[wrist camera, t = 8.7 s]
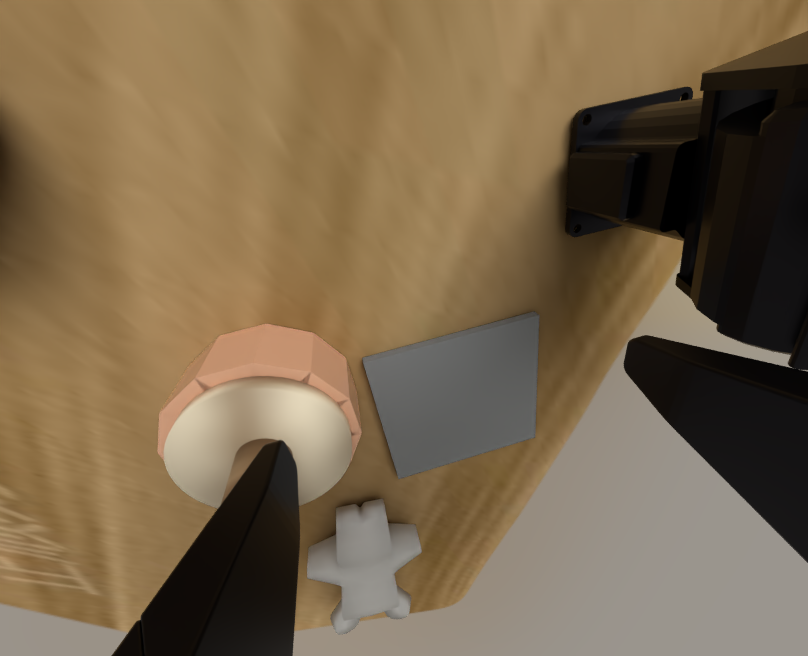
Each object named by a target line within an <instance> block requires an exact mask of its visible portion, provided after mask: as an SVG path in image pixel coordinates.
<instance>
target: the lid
mask: <svg viewBox="0 0 808 656" xmlns="http://www.w3.org/2000/svg"><path fill="white" fill-rule="evenodd" d="M277 440H283V441H284V442H285V443H286V445H287V447H288V449H289V451H290V453H291V454H292V456H293V458H294V460H295V462H296V466H297V474H298V497H299V506H300V505H303V504H306V503H308V502H310V501H312V500H314V499H316V498H318V497H320V496H321V495H323V494H324V493H326V492H327V491H328V490H330V489H331V488H332V487H333V486H334V485H335V484H336V483H337V482H338V481H339V480H340V479H341V478H342V476H343V475H344V473H345V472H346V470H347V468H348V466H349V464H350V460H351V457H352V439H351V429H350V424H349V421H348V418H347V416H346V414H345V412H344V411H343V409H342V408H341V407H340V405H339V404H338V403H337V402H336V401H335V400H334V399H333V398H331V397H330V396H329V395H328V394H326V393H325V392H323V391H321V390H320V389H318V388H316V387H314V386H312V385H309V384H307V383H304V382H301V381H298V380H294V379H289V378H284V377H275V376H252V377H244V378H239V379H234V380H230V381H227V382H224V383H221V384H218V385H216V386H213V387H211V388H209V389H207V390H205V391H204V392H202V393H201V394H199V395H197V396H196V397H195V398H194V399H193V400H191V401H190V402H189V403H188V404H187V405H186V406H185V407H184V409H183V410H182V411H181V413H180V414H179V416H178V418H177V419H176V421H175V423H174V425H173V427H172V428H171V430H170V432H169V434H168V436H167V439H166V442H165V446H164V462H165V465H166V469H167V471H168V473H169V475H170V477H171V478H172V480H173V481H174V482H175V484H176V485H177V486H178V487H179V488H180V489H181V490H183V491H184V492H185V493H186V494H188V495H189V496H191V497H192V498H194V499H196V500H198V501H199V502H202V503H204V504H206V505H209V506H212V507H215V508H219V506H220V505H221V504H222V502H223V501H224V499H225V498H226V497H227V495H228V494H229V493H230V491H231V490H232V488H233V487H234V486H235V484H236V483H237V481H238V480H239V479H240V477H241V476H242V474H243V473H244V472H245V470H246V469H247V468H248V466H249V465H250V463H251V462H252V461H253V459H254V458H255V456H256V455H257V454H258V452H259V451H260V450H261V448H262V447H263V446H264V445H265V444H267V443H270V442H274V441H277Z"/></svg>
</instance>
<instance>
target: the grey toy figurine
mask: <svg viewBox="0 0 808 656" xmlns="http://www.w3.org/2000/svg"><path fill="white" fill-rule="evenodd" d="M421 552H422V551H421V545H420V541H419V537H418V533H417V529H416V525H415V524H396V523H388V521H387V515H386V509H385V504H384V502H383V499H377V500H372V501H367V502H364V503H363V504H362V506H361V507H358V506H357V505H356V504H352V505H347V506H342V507H337V508H336V535H334V536H331V537H329V538H327V539H325V540H323V541H321V542H318V543H316V544H314V545H312V546H310V547H309V549H308V564H307V578H308V579H312V580H317V581H322V582H327V583H331V584H336V585H339V586H342V599H341V601H340V602H339V604H338V605H337V607H336V608H335V609H334V611H333V612H332V614H331V618H330V619H331V622H332V624H333V627H334V629H335V632H336V633H337V634H345V633H348V632H350V631H351V630H353V629H354V628H355V627H356V626H357V624H358V623H359V620H360V618H362V617H367V616H372V615H375V614H378V613H381V612H385V613H386V615H387V616H388V617H390V618H392V619H402V618H405V617H407V615H408V614H409V611H410V604H411V596H410V594H408V593H407V592H406V591H404V590H403V589H401V588H400V587H399V586H397V585H396V580H395V574H394V573H395V572H396V571H397V570H399V569H400V568H401V567H403V566H404V565H405V564H407V563H408V562H409V561H411V560H412V559H413V558H415V557H416V556H417V555H419V554H420V553H421Z"/></svg>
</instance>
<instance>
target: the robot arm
mask: <svg viewBox="0 0 808 656" xmlns="http://www.w3.org/2000/svg"><path fill="white" fill-rule="evenodd" d="M700 91H704V92H703V98H699V99H692V97H693V91H692V89H691V88H690V87H682V88H677V89H672V90H668V91H663V92H658V93H654V94H649V95H645V96H640V97H635V98H631V99H626V100H621V101H617V102H612V103H607V104H603V105H598V106H594V107H589V108H584V109H581V110H579V111H578V112H577V113H576V115H575V117H574V119H573V128H572V142H571V156H570V160H569V173H568V187H567V202H566V205H567V213H566V227H565V230H566V233H567V234H568V235H570V236H572V237H578V236H582V235H586V234H590V233H594V232H598V231H602V230H606V229H610V228H614V227H618V226H622V225H624V226H628V227H632V228H636V229H639V230H643V231H647V232H651V233H655V234H658V235H662V236H666V237H670V238H674V239H677V240H681V241H684V244H683V251H682V259H681V266H680V273H678V274H677V277H676V286H677V287H678V288H679V289H680V290H682V291H683V292H684V293H685V294H686V295H687V296H689V297H690V298H691V299H692V301H693V303H694V305H695V307H696V309H697V310H699V311H700V312H701V313H703V314H704V315H705V316H707V317H708V318H709V319H711V320H712V321H713V322H715V323H717V331H718V332H720V333H721V334H723V335H725V336H727V337H730V338H732V339H734V340H737V341H740V342H742V343H744V344H747V345H751V346H755V347H758V348H762V349H765V350H769V351H773V352H778V353H783V354H789V355H791V356H790V359H789V361H788V365H789V366H790V367H792V368H789V367H785V366H780V365H775V364H772V363H767V362H763V361H759V360H754V359H750V358H745V357H741V356H737V355H732V354H728V353H723V352H718V351H715V350H710V349H705V348H701V347H697V346H692V345H688V344H684V343H679V342H675V341H670V340H666V339H662V338H657V337H653V336H648V335H645V336H641V337H637V338H634V339H631V340H630V341H629V342H628V345H627V350H626V355H625V360H624V369H625V371H626V373H627V374H628V376H629V377H630V378H631V379H632V380H633V382H634V383H635V384H636V385H637V386H638V388H639V389H640V390H641V391H642V392H643V394H644V395H645V396H646V397H647V399H648V400H649V401H650V402H651V403H652V405H653V406H654V407H655V408H656V409H657V410H658V412H659V413H660V414H661V415H662V416H663V418H664V419H665V420H666V421H667V422H668V423H669V424H670V425H671V426H672V427H673V428H674V429H675V430H676V431H677V432H678V433H679V434H680V435H681V436H682V437H683V438H684V439H685V440H686V441H687V442H688V443H689V444H690V445H691V446H692V447H693V448H694V449H695V450H696V451H697V452H698V453H699V454H700V455H701V456H702V457H703V458H704V459H705V460H706V461H707V462H708V463H709V464H710V465H711V466H712V467H713V468H714V469H715V470H716V471H717V472H718V473H719V474H720V475H721V476H722V477H723V478H724V479H725V480H726V481H727V482H728V483H729V484H730V485H731V486H732V487H733V488H734V489H735V490H736V491H737V492H738V493H739V494H740V495H741V496H742V497H743V498H744V499H745V500H746V501H747V502H748V503H749V504H750V505H751V506H752V508H754V510H755V511H756V512H758V513H759V515H761V517H762V518H763V519H765V521H766V522H767V523H768V524H769V525H771V527H772V528H773V529H775V531H776V532H777V533H779V535H780V536H781V537H782V538H784V540H785V541H786V542H787V543H788V544H790V546H791V547H793V549H794V550H796V552H798V554H799V555H800V556H801V557H802V558H803V559H804V560H805V561H806V562H807V563H808V372H807V371H802V370H808V31H807V32H804V33H802V34H799V35H797V36H794V37H792V38H789V39H787V40H784V41H782V42H779V43H776V44H774V45H771V46H769V47H766V48H764V49H761V50H759V51H756V52H754V53H751V54H749V55H746V56H744V57H741V58H739V59H736V60H733V61H731V62H728V63H726V64H723V65H721V66H718V67H716V68H713V69H711V70H708V71H706V72H703V73H702V80H701V88H700ZM680 97H681V101H680ZM584 116H586V122H585V124H584V125H583V122H582V120H583V117H584ZM576 225H577V228H576V229H575V230H573V229H574V227H575V226H576ZM794 368H795V369H794ZM798 369H800V370H798ZM299 548H300V519H299V497H298V474H297V466H296V462H295V460H294V458H293V456H292V454H291V453H290V451H289V449H288V447H287V445H286V443H285V442H284V441H283V440H277V441H274V442H270V443H267V444H265V445H264V446H263V447H262V448H261V450H260V451H259V452H258V454H257V455H256V456H255V458H254V459H253V461H252V462H251V463H250V465H249V466H248V468H247V469H246V470H245V472H244V473H243V474H242V476H241V477H240V479H239V480H238V481H237V483H236V484H235V486H234V487H233V488H232V490H231V491H230V493H229V494H228V495H227V497H226V498H225V499H224V501H223V502H222V504H221V505H220V506H219V508H218V509H217V511H216V512H215V513H214V515H213V516H212V518H211V519H210V520H209V522H208V523H207V524H206V526H205V527H204V529H203V530H202V531H201V533H200V534H199V536H198V537H197V538H196V540H195V541H194V542H193V544H192V545H191V547H190V548H189V549H188V551H187V552H186V554H185V555H184V556H183V558H182V559H181V561H180V562H179V563H178V565H177V566H176V567H175V569H174V570H173V572H172V573H171V574H170V576H169V577H168V579H167V580H166V581H165V583H164V584H163V585H162V587H161V588H160V590H159V591H158V592H157V594H156V595H155V597H154V598H153V599H152V601H151V602H150V604H149V605H148V606H147V608H146V609H145V610H144V612H143V613H142V615H141V620H138V621H137V622H136V623H135V624H134V625H133V627H132V628H131V630H130V631H129V632H128V634H127V635H126V637H125V638H124V640H123V641H122V642H121V644H120V645H119V646H118V648H117V649H116V651H115V652H114V653H113V655H112V656H292V655H293V640H294V625H295V610H296V594H297V579H298V563H299Z"/></svg>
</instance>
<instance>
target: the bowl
mask: <svg viewBox="0 0 808 656" xmlns="http://www.w3.org/2000/svg"><path fill="white" fill-rule="evenodd" d="M252 376H275V377H284V378H289V379H294V380H298V381H301V382H304V383H307V384H309V385H312V386H314V387H316V388H318V389H320V390H321V391H323V392H325V393H326V394H328V395H329V396H330V397H331V398H333V399H334V400H335V401H336V402H337V403H338V404H339V405H340V407H341V408H342V409H343V411H344V412H345V414H346V416H347V418H348V421H349V424H350V429H351V439H352V457H351V460H352V458H353V455H354V452H355V450H356V447H357V444H358V442H359V439H360V436H361V434H362V430H361V422H360V414H359V406H358V398H357V390H356V387H355V384H354V381H353V378H352V375H351V372H350V369H349V366H348V363H347V360H346V357H344V356H343V355H342V354H340V353H339V352H338V351H336V350H335V349H334V348H333V347H331V346H330V345H329V344H327V343H326V342H325V341H324V340H322V339H321V338H320V337H318V336H317V335H316V334H315V333H312V332H307V331H302V330H297V329H291V328H286V327H281V326H276V325H271V324H263V325H259V326H255V327H251V328H247V329H243V330H239V331H236V332H232V333H228V334H224V335H220V336H218V337H217V338H216V339H215V340H214V341H213V342H212V343H211V344H210V345H209V346H208V347H207V348H206V349H205V350H204V351H203V352H202V353H201V354H200V355H199V356H198V357H197V358H196V359H195V360H194V361H193V362H192V363H191V364H190V365H189V366H188V368H187V370H186V371H185V373H184V374H183V376H182V378H181V379H180V381H179V382H178V384H177V385H176V387H175V389H174V390H173V392H172V393H171V395H170V397H169V398H168V400H167V401H166V403H165V405H164V406H163V408H162V409H161V411H160V412H159V432H158V454H159V455H160V456H161V457H162V458H163V460H164V446H165V442H166V439H167V436H168V434H169V432H170V430H171V428H172V427H173V425H174V423H175V421H176V419H177V418H178V416H179V414H180V413H181V411H182V410H183V409H184V407H185V406H186V405H187V404H188V403H189V402H190V401H191V400H193V399H194V398H195V397H196V396H197V395H199V394H201V393H202V392H204V391H205V390H207V389H209V388H211V387H213V386H216V385H218V384H221V383H224V382H227V381H230V380H234V379H239V378H244V377H252ZM351 460H350V463H351ZM349 465H350V464H349Z"/></svg>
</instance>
